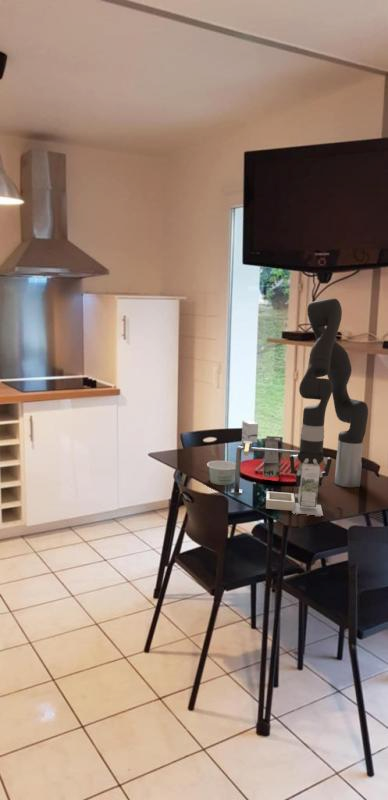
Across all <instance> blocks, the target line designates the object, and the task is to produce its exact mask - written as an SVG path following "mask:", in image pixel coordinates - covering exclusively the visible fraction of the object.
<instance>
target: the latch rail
mask: <svg viewBox="0 0 388 800" xmlns="http://www.w3.org/2000/svg"><path fill="white" fill-rule="evenodd" d="M244 449H245V447H243V445H242V446H241V445H238V446H237V448H236V452H235V455H236V456H235V463H236V469H235V478H234V487H233V488H231V489H230V490H231V491H230V494H232V495H233V494H235V495H242V494H243V490H244V489H242V488H241V489H240V483H241V482H240V481H241V464H242V452H243V451H244ZM249 451H252V452H253V451H255V452H258V451H259V452H265V451H266V452H280V453H283V454H292V455H298V454H299V452H300V450H296V449H295V450H294V449H283V448H282V449H270V448H265V447H257V448H256V447H252V448H249ZM294 499H295V500H298V493H294Z"/></svg>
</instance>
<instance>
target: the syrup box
mask: <svg viewBox="0 0 388 800" xmlns="http://www.w3.org/2000/svg"><path fill="white" fill-rule="evenodd" d="M300 464H301V465H302V463H301V462H300ZM320 469H321V466H320V464H318V465H314V464H303V465H302V471H301V474H300V475H301V478H300V486H299V488H298V493H297V494H298V499H297V503H299V505H300V506H307V507H316V505H318V502H317V501H318V494H319V493H318V492H319V488H318V483H319V472H320Z"/></svg>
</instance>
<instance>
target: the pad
mask: <svg viewBox="0 0 388 800" xmlns="http://www.w3.org/2000/svg"><path fill="white" fill-rule="evenodd" d="M292 513H293V514H292ZM295 513H296V514H295ZM323 513H324V512H323V509H322V505H321V504H317V505H316V507H307V506H300V505H299V502H295V506H294V509H292V511H291V514H292V515H298V514H307V515H306V516H309V515H315V516H314V517H321V516H323V517H324V514H323Z"/></svg>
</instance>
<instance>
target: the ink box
mask: <svg viewBox="0 0 388 800" xmlns="http://www.w3.org/2000/svg"><path fill="white" fill-rule="evenodd" d="M241 427H242V428H241V445H243V443H244V441H251V442H252V447H256V448H258V436H259V435H258V431H259V430H258V429H259V423H257V422H255V421H253V420H250V419H249V420H242V424H241Z"/></svg>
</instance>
